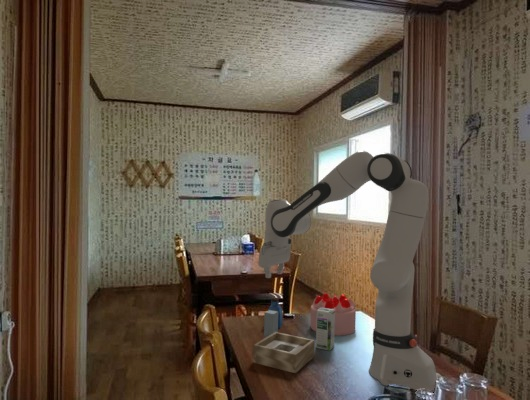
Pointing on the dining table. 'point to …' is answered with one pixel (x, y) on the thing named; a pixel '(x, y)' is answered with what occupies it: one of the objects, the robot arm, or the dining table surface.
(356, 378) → the dining table surface
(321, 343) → the syrup box
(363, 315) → the dining table surface
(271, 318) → the peg
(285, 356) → the crate
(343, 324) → the cake
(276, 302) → the perfume bottle
